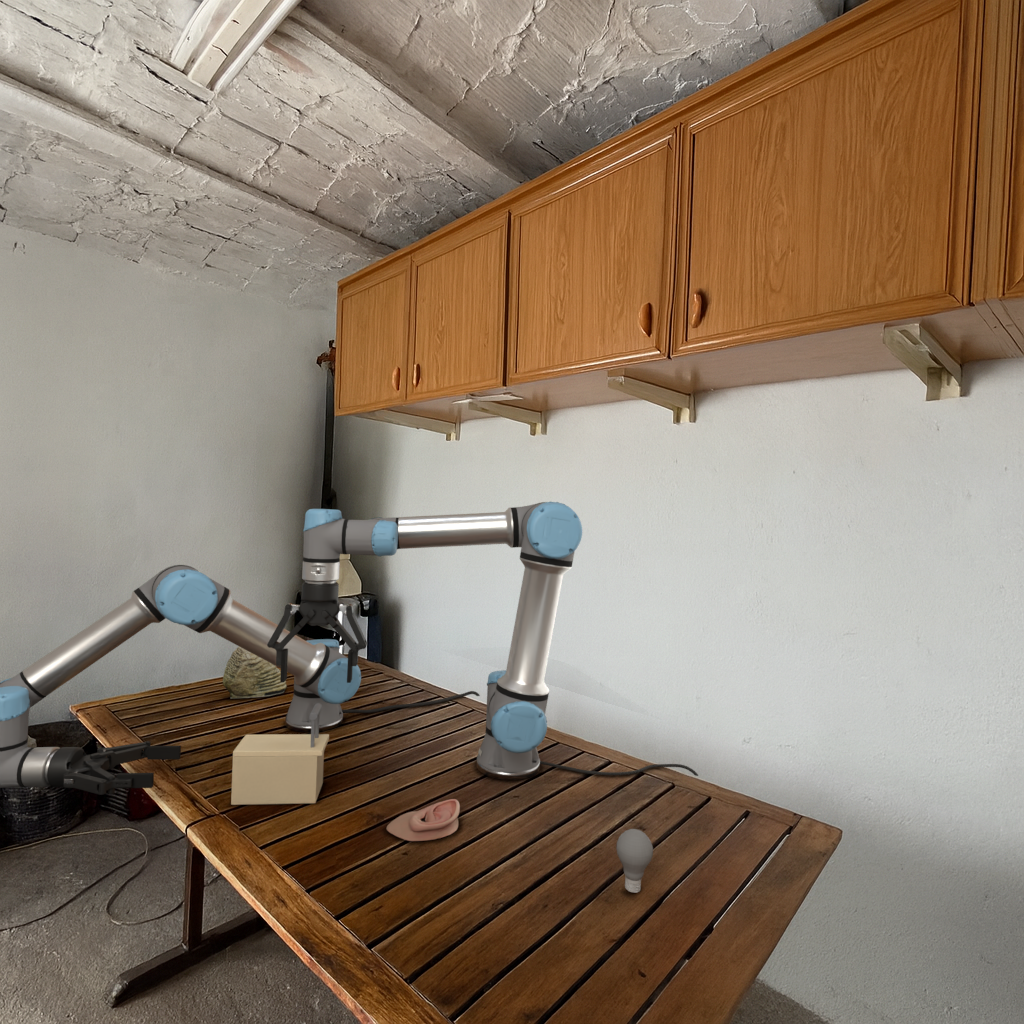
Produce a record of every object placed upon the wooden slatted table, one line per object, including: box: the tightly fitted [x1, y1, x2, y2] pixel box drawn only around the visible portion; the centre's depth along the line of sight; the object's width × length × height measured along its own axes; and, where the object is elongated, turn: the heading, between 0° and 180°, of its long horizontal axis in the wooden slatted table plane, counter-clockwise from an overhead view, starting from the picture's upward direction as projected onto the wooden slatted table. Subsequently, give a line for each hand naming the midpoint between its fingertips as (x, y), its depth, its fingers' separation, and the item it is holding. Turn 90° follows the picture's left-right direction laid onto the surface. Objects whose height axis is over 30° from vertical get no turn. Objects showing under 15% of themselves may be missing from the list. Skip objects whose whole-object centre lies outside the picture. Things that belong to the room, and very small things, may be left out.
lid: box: [232, 703, 330, 758], centre depth 134 cm, size 18×9×8 cm, turn 98°
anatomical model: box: [386, 798, 461, 842], centre depth 123 cm, size 13×4×12 cm
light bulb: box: [615, 828, 654, 894], centre depth 106 cm, size 6×6×10 cm
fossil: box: [222, 646, 288, 699], centre depth 198 cm, size 9×18×15 cm, turn 132°
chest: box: [230, 751, 325, 806], centre depth 134 cm, size 17×9×10 cm, turn 98°
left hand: (167, 765), depth 131 cm, fingers open, 13 cm apart
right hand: (316, 681), depth 135 cm, fingers open, 13 cm apart
